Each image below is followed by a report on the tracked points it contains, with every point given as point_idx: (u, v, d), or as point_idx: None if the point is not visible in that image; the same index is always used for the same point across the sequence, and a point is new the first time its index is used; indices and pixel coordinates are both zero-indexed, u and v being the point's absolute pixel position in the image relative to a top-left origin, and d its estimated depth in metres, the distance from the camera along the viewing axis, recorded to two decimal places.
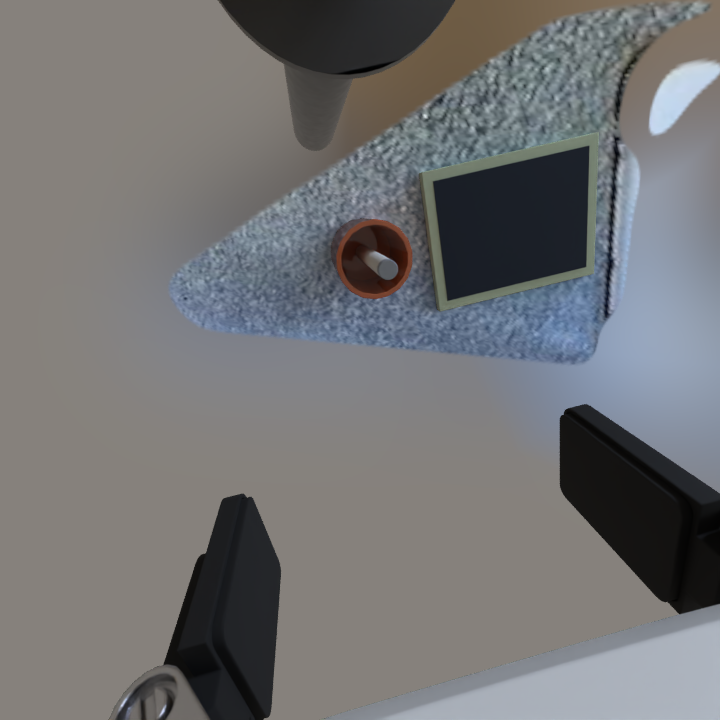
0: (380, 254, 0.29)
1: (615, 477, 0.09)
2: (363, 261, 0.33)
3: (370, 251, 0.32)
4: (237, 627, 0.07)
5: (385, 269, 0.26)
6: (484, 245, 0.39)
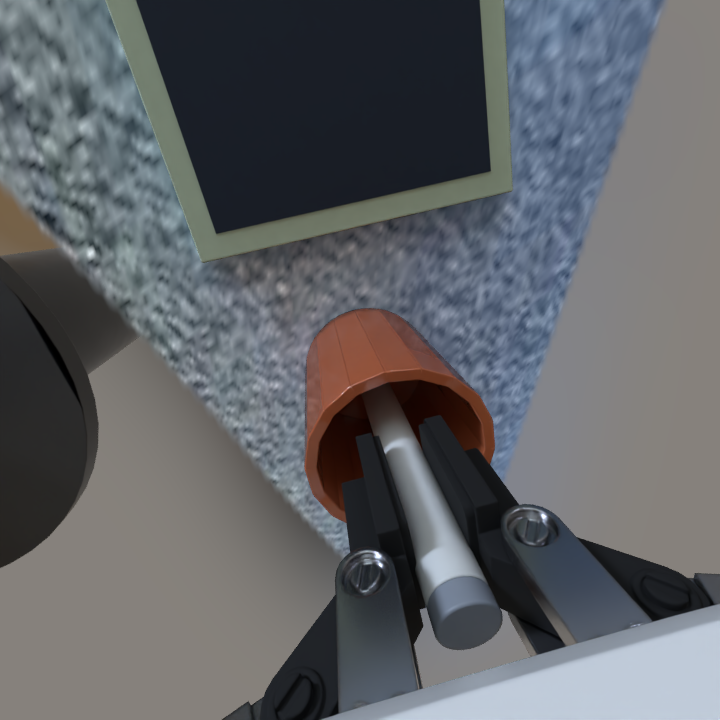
0: None
1: (442, 482, 0.10)
2: None
3: None
4: None
5: (467, 634, 0.07)
6: (358, 66, 0.14)
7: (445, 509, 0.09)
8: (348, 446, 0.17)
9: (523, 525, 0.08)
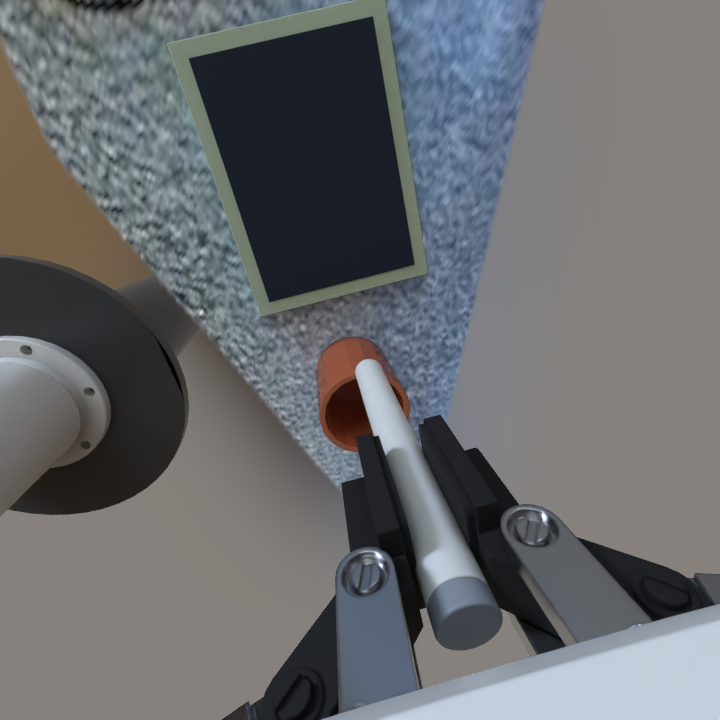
0: None
1: (443, 482, 0.10)
2: None
3: None
4: None
5: (467, 635, 0.07)
6: (342, 219, 0.28)
7: (446, 509, 0.09)
8: (341, 414, 0.31)
9: (523, 525, 0.08)
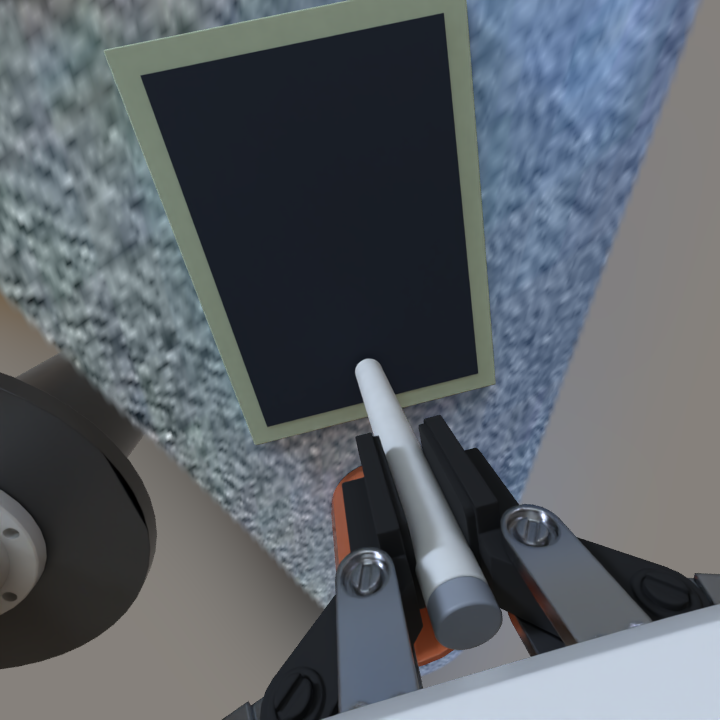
0: None
1: (443, 482, 0.10)
2: None
3: None
4: None
5: (467, 634, 0.07)
6: (377, 315, 0.19)
7: (445, 509, 0.09)
8: None
9: (523, 525, 0.08)
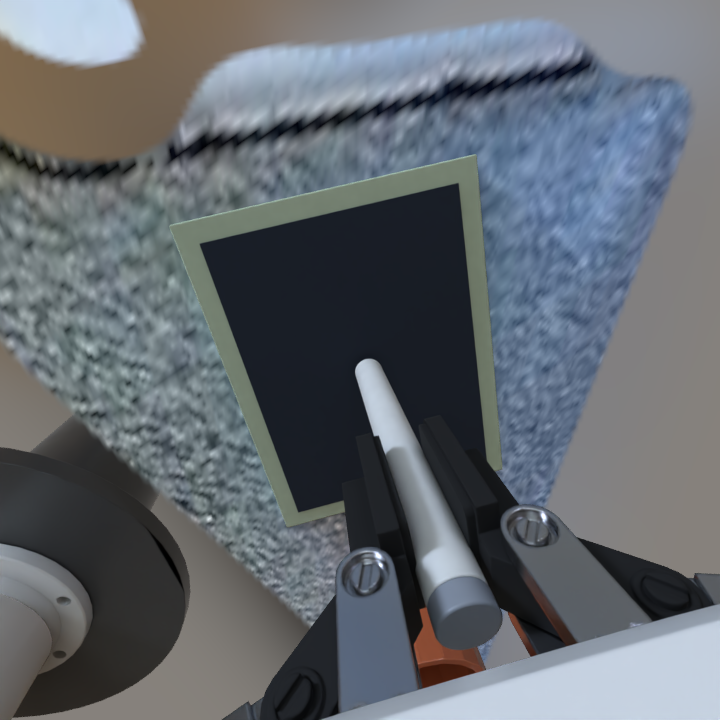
0: None
1: (442, 482, 0.10)
2: None
3: None
4: None
5: (467, 634, 0.07)
6: None
7: (445, 509, 0.09)
8: None
9: (523, 525, 0.08)
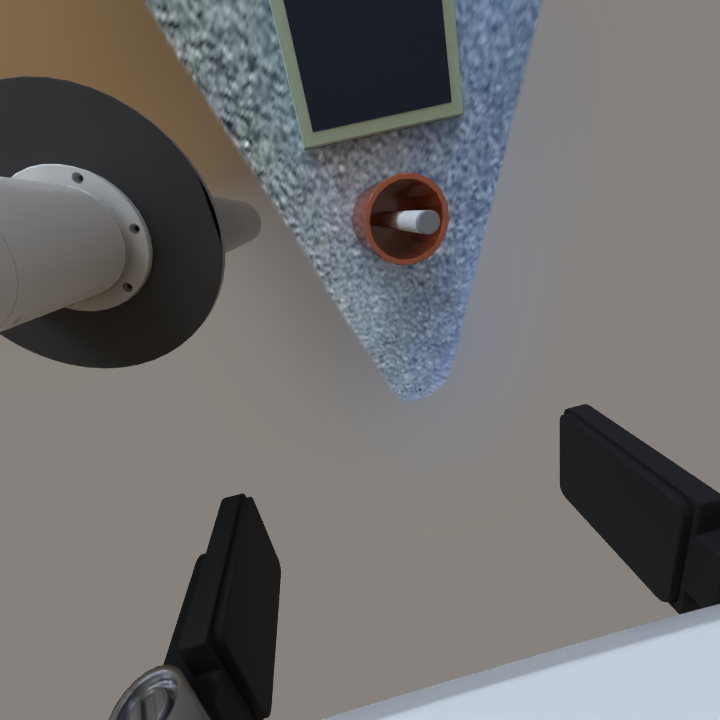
0: (404, 219, 0.26)
1: (615, 477, 0.09)
2: None
3: (395, 224, 0.29)
4: (237, 627, 0.07)
5: (428, 225, 0.23)
6: (385, 47, 0.29)
7: None
8: None
9: None
